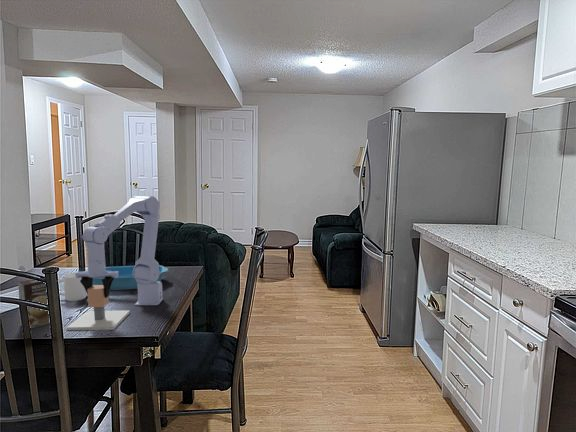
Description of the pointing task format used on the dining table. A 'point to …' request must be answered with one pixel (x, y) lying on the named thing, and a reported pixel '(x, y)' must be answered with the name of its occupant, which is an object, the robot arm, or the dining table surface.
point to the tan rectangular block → (97, 296)
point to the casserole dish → (124, 277)
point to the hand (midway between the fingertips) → (98, 296)
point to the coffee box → (36, 294)
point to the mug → (72, 288)
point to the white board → (99, 320)
